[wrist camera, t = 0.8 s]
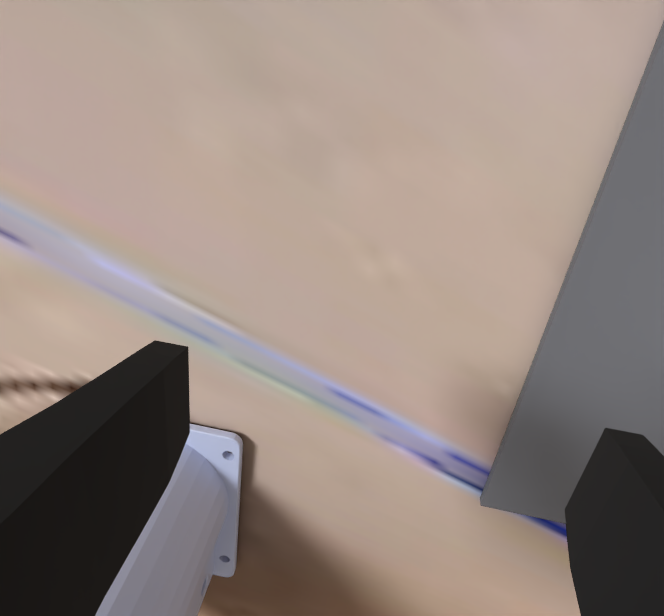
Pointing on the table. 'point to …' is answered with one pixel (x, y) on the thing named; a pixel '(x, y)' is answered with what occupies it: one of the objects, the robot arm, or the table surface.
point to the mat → (597, 329)
